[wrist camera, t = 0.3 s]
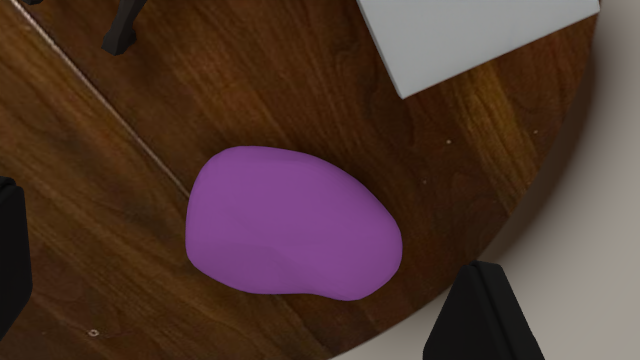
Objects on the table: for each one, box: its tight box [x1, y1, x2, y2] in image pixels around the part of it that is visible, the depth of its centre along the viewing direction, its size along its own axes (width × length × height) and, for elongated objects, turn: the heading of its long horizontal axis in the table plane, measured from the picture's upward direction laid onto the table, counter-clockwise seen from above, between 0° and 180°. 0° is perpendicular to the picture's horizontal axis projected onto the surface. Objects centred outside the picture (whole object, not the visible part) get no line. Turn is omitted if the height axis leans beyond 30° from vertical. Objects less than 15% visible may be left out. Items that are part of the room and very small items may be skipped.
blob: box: [186, 146, 402, 301], centre depth 33 cm, size 14×11×5 cm
